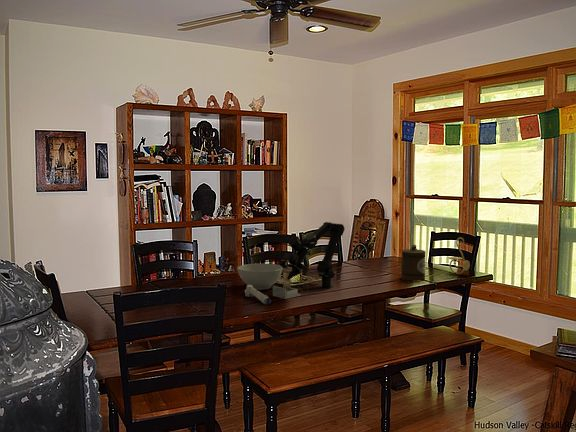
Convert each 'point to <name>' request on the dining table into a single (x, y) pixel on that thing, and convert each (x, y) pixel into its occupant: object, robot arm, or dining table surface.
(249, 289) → the grey pestle
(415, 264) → the wooden container
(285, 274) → the cream cylinder
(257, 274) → the decorative bowl
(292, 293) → the grey rectangular box
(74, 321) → the dining table surface
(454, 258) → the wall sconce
